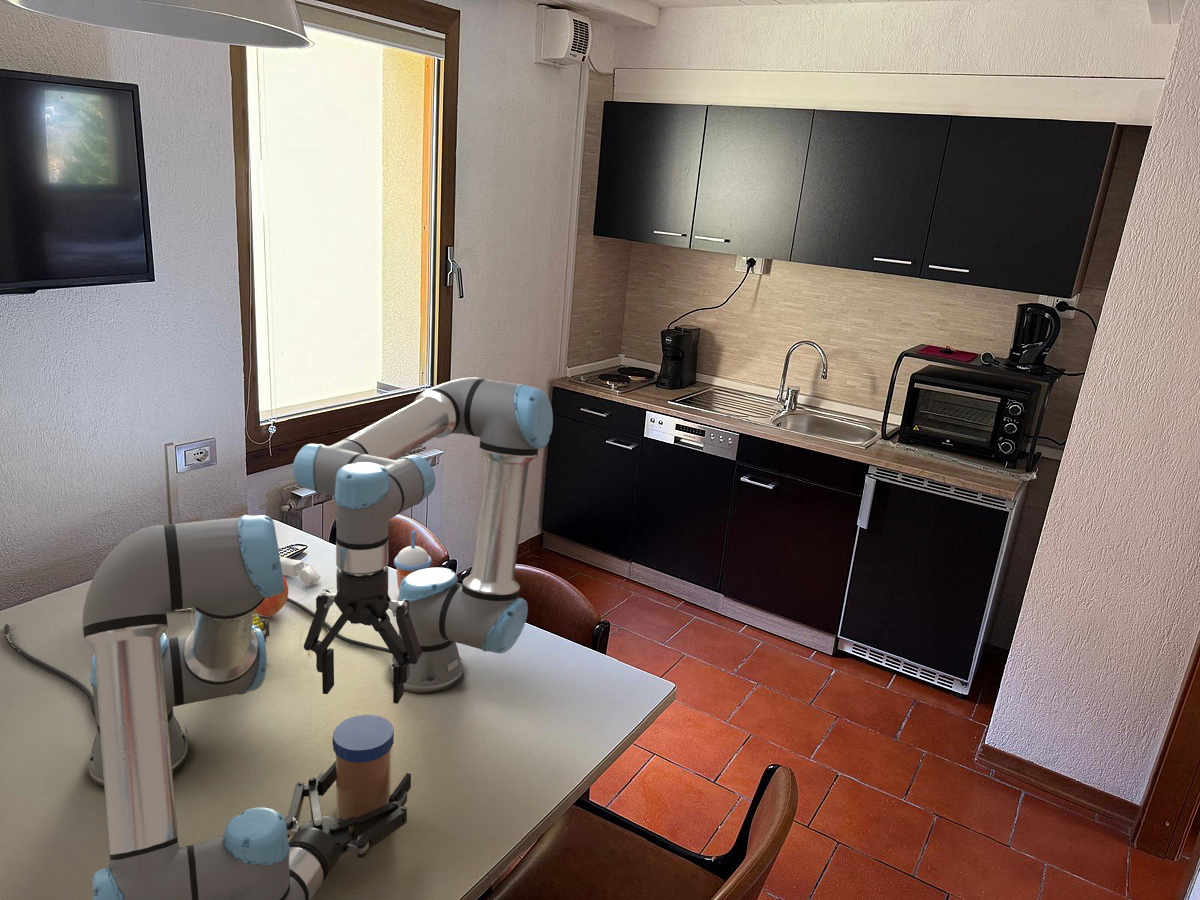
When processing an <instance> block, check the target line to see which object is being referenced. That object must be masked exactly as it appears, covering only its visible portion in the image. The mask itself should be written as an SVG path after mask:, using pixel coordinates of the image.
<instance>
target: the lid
mask: <svg viewBox="0 0 1200 900" xmlns="http://www.w3.org/2000/svg"><path fill="white" fill-rule="evenodd" d="M394 735H395V731H394V727H393V724H392V723H391V722H390V721H389V720H388V719H387V718H385V717H383V716H380V715H377V714H376V715H375V714H360V715H355V716H351V717H349V718H346V719H345V720H343V721H341V722H340V723H339V724H338V725H337V726H336V727H335V728H334V730H333V733H332V747H333V748H332V750H333V752H334V753H335V756H336V755H337V756H338V757H340V758H341V759H343V760H346V761H349V762H369V761H373V760H376V759H378V758H380V757H382V756H384V755H385V754H387V753H388V752H389V750H390V749H391V750H392V748H393V745H394V744H395V743H394V742H395V739H394V738H395V736H394Z"/></svg>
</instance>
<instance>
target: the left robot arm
mask: <svg viewBox="0 0 1200 900" xmlns="http://www.w3.org/2000/svg"><path fill="white" fill-rule="evenodd" d="M276 531H277V530H276V527H275V523H274V520H273V519H272V518H271V517H270V516H268V515H264V514H262V515H258V514H257V515H248V514H244V515H241V516H237V517H230V518H220V519H210V520H209V519H208V520H199V521H190V522H180V523H173V524H156V525H151V526H147V527H144V528H141V529H139V530H136V531H135V532H133V533H131V534H130V535H128V536H126V537H125V538H124V539H122V540H121V541H120V542H119V543H117V545H116V546H115V547H114V548H113V549H112V550H111V551H110V552H109V553H108V554H107V556H106V557H105V558H104V560H103V561H102V562H101V563H100V565H99V567H98V568H97V570H96V572H95V574H94V576H93V578H92V580H91V582H90V584H89V588H88V590H87V593H86V597H85V600H84V603H83V604H84V605H83V612H82V631H83V632H82V633H83V641H84V642H85V643H87V644H88V645H90V646H91V647H92V649H93V655H92V657H91V660H90V677H89V683H90V686H91V687H92V692H91V691H90V689H88V687H86V686H85V685H84V684H83V683H81V682H80V681H78V679H75V678H74V677H73V676H71V675H70V674H67V673H66V672H64V671H62V670H60V669H57V668H55V667H53V666H51V665H50V664H47V663H46V662H44V661H42V660H40V659H38V658H36V657H34V656H32V655H31V654H29V653H27V652H26V651H25V650H23V649H22V648H21V647H19V646H18V645H17V644H16V643H15V642H14V640H13V639H12V636H11V635H10V638H11V639H12V640H11V641H13V642H14V643H15V644H16V645H15V644H14V643H13V642H11V643H10V642H9V641H10V640H9V641H8V639H7V637H6V636H5V634H6V635H7V634H8V633H9V629H10V628H11V626H10V624H9V625H8V623H6V624H5V625H4V626H5V628H4V627H3V629H5V632H4V637H5V640H6V642H7V644H8V645H9V646H10V648H11V649H12V650H14V651H15V652H16V653H17V655H20V656H21V657H22V658H24V659H25V660H27V661H28V662H31V663H33V664H34V665H36V666H38V667H40V668H42V669H44V670H46V671H48V672H50V673H51V674H54V675H56V676H58V677H60V678H62V679H64V680H65V681H67V682H68V683H70V684H72V685H73V686H75V687H76V688H77V689H78V690H80V691H81V692H82V693H83V694H84V695H85V696H86V698H87V699H88V701H89V703H90V707H91V710H92V714H93V716H94V718H95V724H96V733H95V737H94V740H93V743H92V747H91V751H90V753H89V756H88V763H87V764H88V773H89V777H90V779H91V781H92V782H94V784H96V785H98V786H100V787H102V788H104V797H105V798H104V799H105V809H106V810H105V812H106V824H107V825H106V826H107V837H108V851H109V852H108V853H109V865H108V866H106V867H105V868H102V869H99V870H97V871H96V872H95V873H94V874H93V876H92V895H93V896H92V900H312V898H313V897H314V895H316V893H317V891H318V890H319V888H320V887H321V885H323V882H325V880H326V879H327V878H328V876H329V875H330V873H331V872H332V871H333V870H334V868H335V867H336V865H337V863H338V862H339V860H340V858H341V856H342V855H343V854H345V853H347V852H348V851H350V852H353V853H356V857H357V858H358V859H363V858H366V856H367V854H368V853H369V852H370V850H371V849H373V848H374V847H375V846H376V845H378V844H380V842H383V840H386V838H388V837H389V836H390V835H392V834H393V833H395V832H396V831H397V830H399V829H400V828H401V827H403V826H404V825H406V824H407V822H408V807H406V806H405V805H406V804H407V802H408V792H409V791H410V790H411V788H412V773H409V772H406V774H405V775H404V776H403V777H402V779H401V780H400V782H399V783H398V785H397V786H396V788H394V790H393V792H391V796H390V797H389V804H386V805H384V806H382V807H380V808H377V809H375V810H373V811H370V812H368V813H366V814H364V815H361V816H359V817H357V818H356V817H354V816H353V817H351V818H348V819H346V820H345V819H341V818H337V817H334V816H333V815H329V814H326V815H325V816H324V815H322V811H321V807H320V800H319V797H323V796H324V795H325V794H326V793H327V791H328V790H330V788H331V787H332V786H333V784H334V783H336V760H334V762H333V763H332V764H331V765H330V766H329V767H328V769H327V770H326V771H322V772H320V773H319V774H318V775H317V776H316V777H310V778H309V779H308V784H307V783H304V782H303V781H298V782H296V783H295V788H294V791H293V794H292V795H293V796H292V799H291V802H290V806H289V809H288V813H287V815H286V817H284V816H283V814H282V813H280V812H279V811H278V810H276V809H273V808H270V807H264V806H259V807H252V808H248V809H245V810H243V811H242V812H241V813H240V814H239V815H235V816H233V817H232V818H230V820H229V822H228V823H227V824H226V827H225V830H224V835H223V836H220V837H216V838H213V839H208V840H205V841H202V842H197V843H193V844H191V845H186V846H183V847H180V844H179V832H178V821H177V810H176V799H175V788H174V777H173V776H174V775H173V774H174V773H175V772H177V771H178V770H179V769H180V768H181V767H182V766H183V764H185V762H186V759H187V758H188V754H189V746H188V740H189V736H188V731H187V726H186V725H184V727H185V728H184V729H185V733H184V731H182V728H181V726H180V724H179V722H178V720H177V718H176V716H175V714H174V708H175V707H180V706H184V705H188V704H193V703H200V702H204V701H209V700H214V699H219V698H225V697H231V696H235V695H238V696H239V695H244V694H246V693H249V692H252V691H256V690H258V689H259V688H260V687H262V685H263V684H264V682H265V678H266V675H267V668H266V667H267V663H268V659H267V647H266V646H267V645H266V643H265V640H264V636H263V633H262V631H261V629H260V628H259V627H258V626H256V625H252V624H253V618H254V611H255V609H256V608H257V607H258V606H260V604H261V603H262V602H263V601H264V599H265V598H266V597H267V598H271V597H273V596H275V595H279V594H281V593H282V592H283V591H284V582H283V576H284V575H282V568H281V562H280V557H281V555H280V549H278V547H279V544H278V539H277V538H278V537H277V533H276ZM188 608H194V609H193V610H194V623H193V624H194V626H193V627H194V628H193V629H192V630H191V631H190V633H189V634H187V635H186V634H185V635H181V636H175V637H170V638H169V636H167V634H166V633H165V632H166V631H167V630H168V629H169V624H168V612H170V611H171V612H172V611H173V612H174V610H181V609H188ZM9 627H10V628H9ZM10 638H9V639H10ZM11 644H12V645H13V646H14V647H15V648H14V647H13V646H12V645H11ZM18 650H19V651H20V652H19V651H18ZM185 734H186V735H185ZM307 797H308V801H309V809H310V817H311V820H310V821H308V822H305V823H303V824H301V825H299V820H300V816H301V812H302V808H303V804H304V800H305V798H307ZM350 826H351V832H350V833H349V827H350ZM361 834H363V835H361ZM291 836H292V837H291ZM290 837H291V838H290ZM289 838H290V839H289Z"/></svg>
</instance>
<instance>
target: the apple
mask: <svg viewBox="0 0 1200 900" xmlns="http://www.w3.org/2000/svg"><path fill="white" fill-rule="evenodd" d="M283 582H284V591H283V592H282V593H281V594H279V595H275V596H273V597H271V598H267V597H266V598H265V599H264V601H263V602H262V603H261V604H260V606H258V607H257V608H256V609H255V611H254V612H255V615H257V616H261V617H265V618H269V617H273V616H275V615H276V614H278V613H279V612H280V611H281V610H282V609H283V607H284V606H285V605H286V603H287V598H289V584H288V581H287V579H286V577H285V575H283Z"/></svg>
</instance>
